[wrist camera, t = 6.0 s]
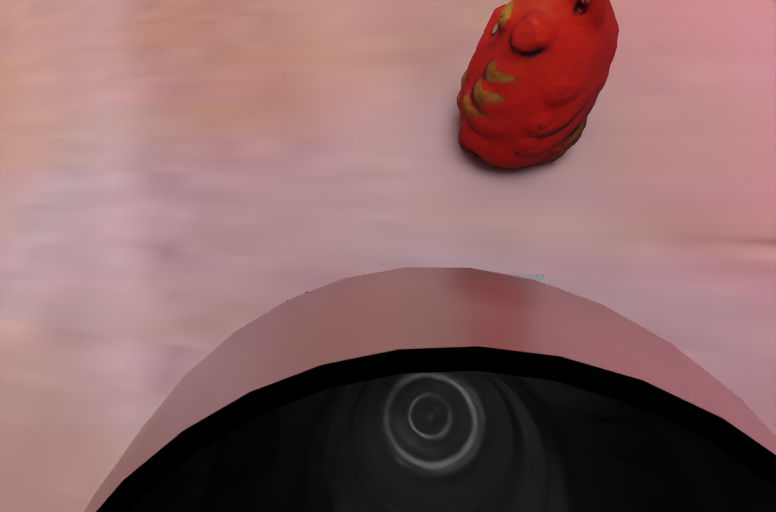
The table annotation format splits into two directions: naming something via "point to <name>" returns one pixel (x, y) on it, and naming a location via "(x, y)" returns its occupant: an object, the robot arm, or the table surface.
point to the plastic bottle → (446, 411)
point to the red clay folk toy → (535, 79)
